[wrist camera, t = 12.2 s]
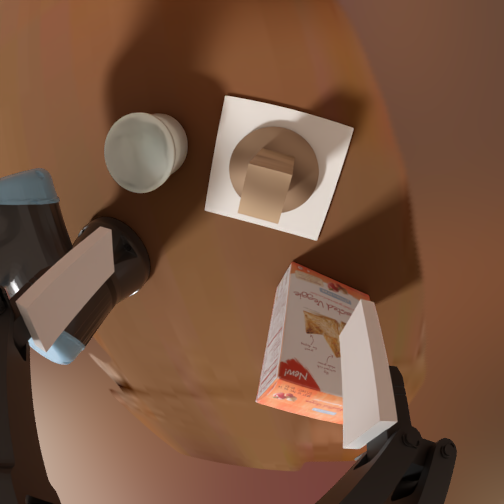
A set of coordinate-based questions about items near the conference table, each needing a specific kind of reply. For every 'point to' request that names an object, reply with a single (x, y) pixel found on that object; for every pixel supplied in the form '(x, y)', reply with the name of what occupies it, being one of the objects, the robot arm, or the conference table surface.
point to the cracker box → (307, 345)
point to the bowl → (144, 150)
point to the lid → (273, 172)
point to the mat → (308, 126)
